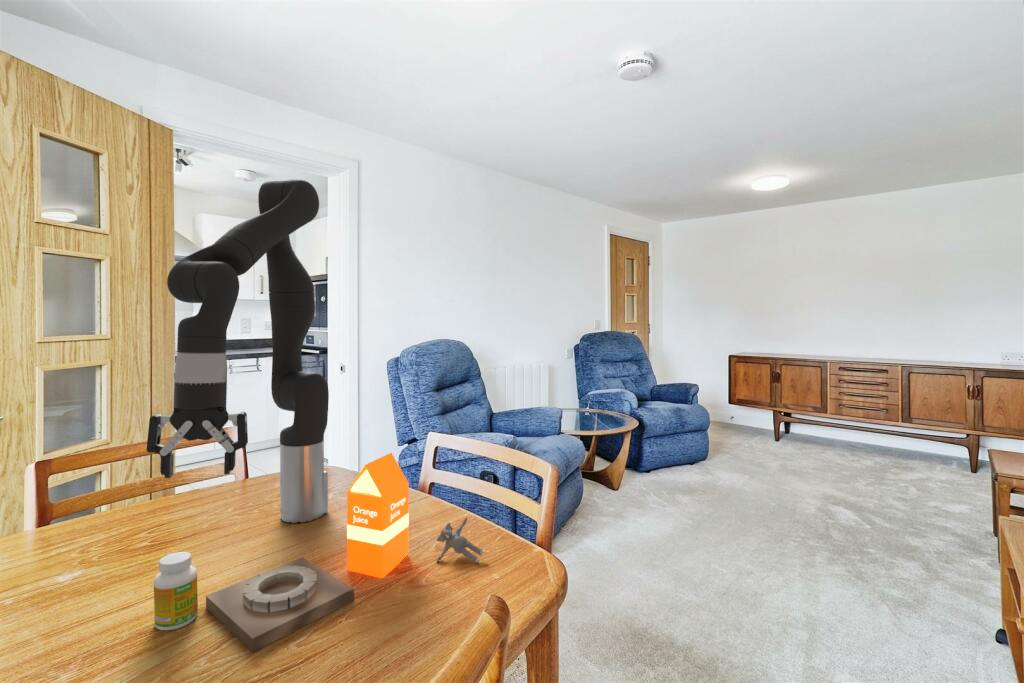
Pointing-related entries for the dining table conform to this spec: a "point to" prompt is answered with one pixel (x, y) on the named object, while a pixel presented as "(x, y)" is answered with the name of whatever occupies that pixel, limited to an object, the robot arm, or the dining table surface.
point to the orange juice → (377, 518)
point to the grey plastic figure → (457, 542)
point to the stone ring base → (278, 602)
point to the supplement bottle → (175, 592)
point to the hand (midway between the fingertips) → (198, 475)
